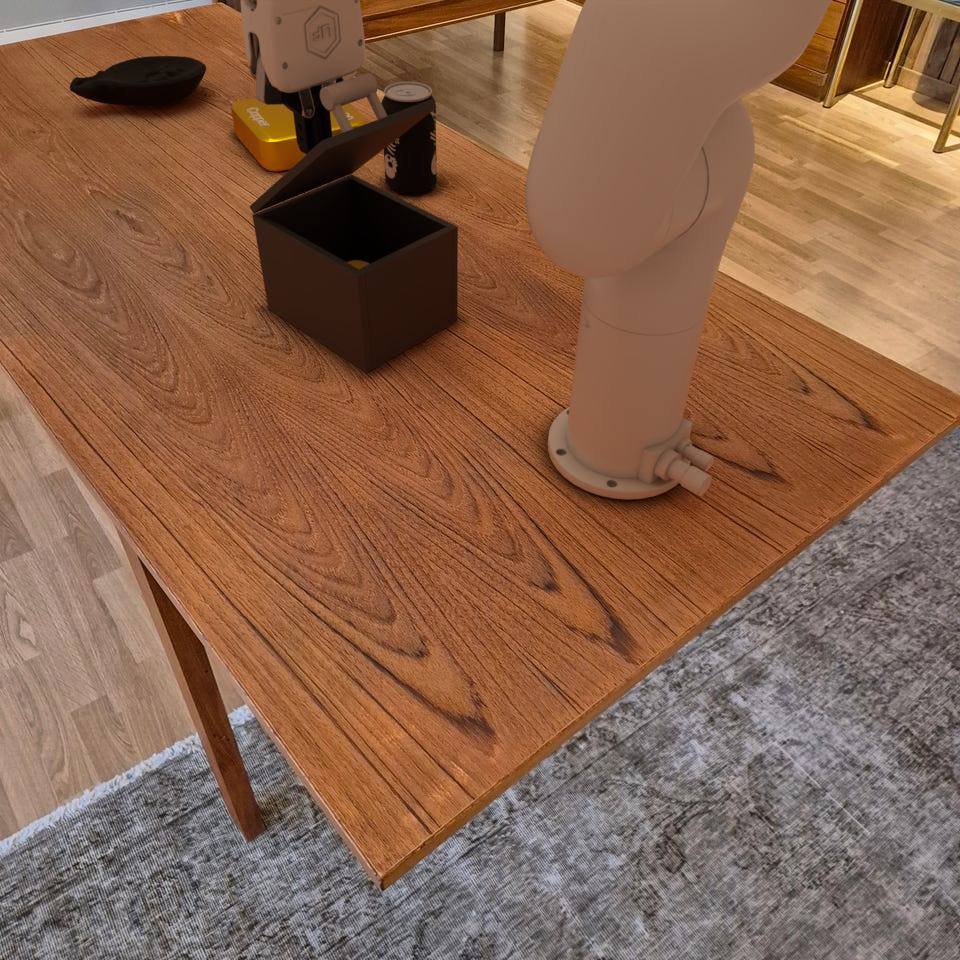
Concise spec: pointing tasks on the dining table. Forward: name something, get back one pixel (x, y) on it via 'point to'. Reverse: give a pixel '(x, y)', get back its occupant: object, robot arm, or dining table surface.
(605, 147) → the robot arm
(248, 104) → the element tile
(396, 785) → the dining table surface
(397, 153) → the beverage can
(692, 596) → the dining table surface
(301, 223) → the dark open storage box
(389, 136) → the lid
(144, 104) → the oil lamp
